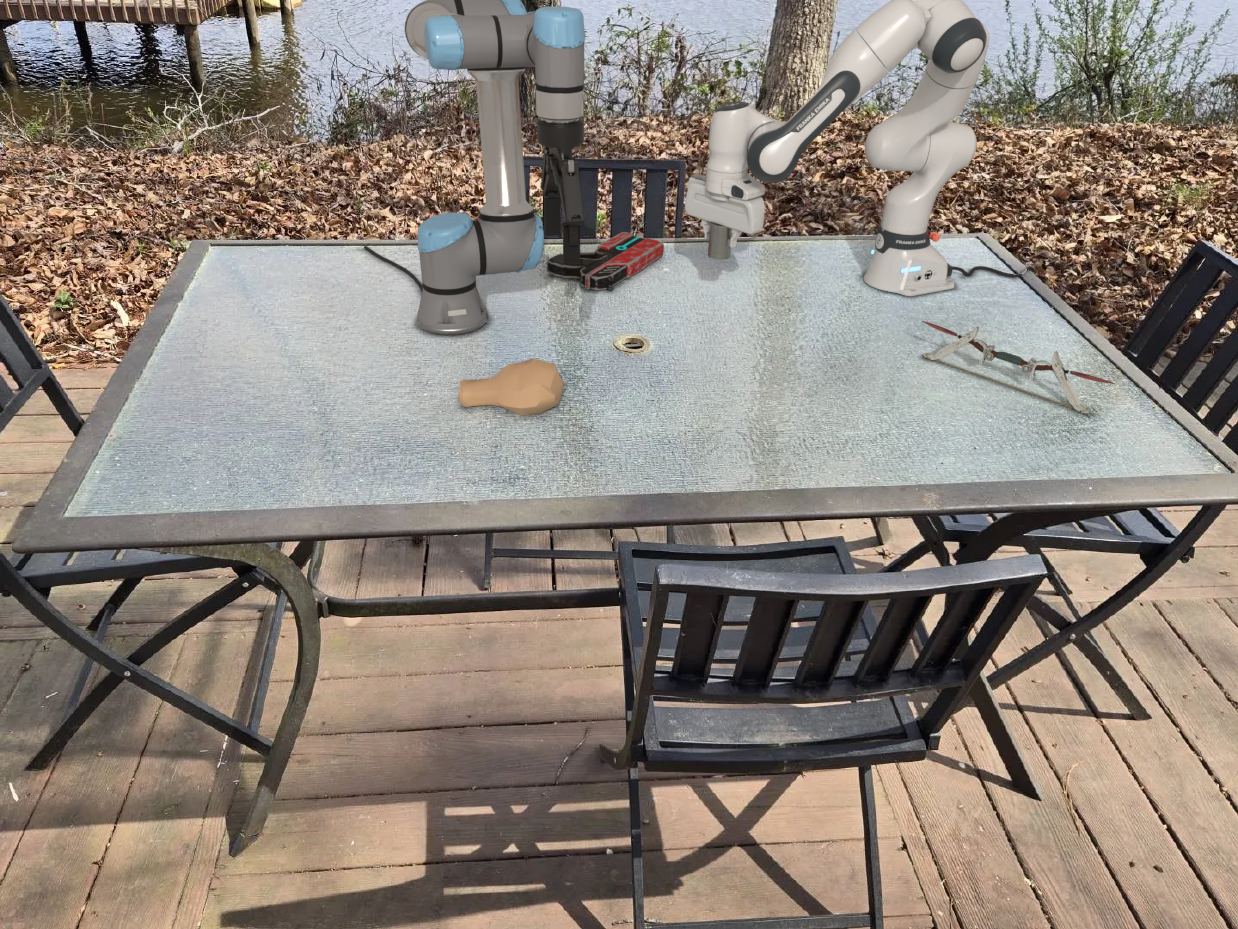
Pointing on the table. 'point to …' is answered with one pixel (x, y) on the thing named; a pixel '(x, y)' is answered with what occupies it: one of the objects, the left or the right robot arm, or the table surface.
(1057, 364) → the bow
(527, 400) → the squash
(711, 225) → the can
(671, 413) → the table surface
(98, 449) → the table surface
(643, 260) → the gun
